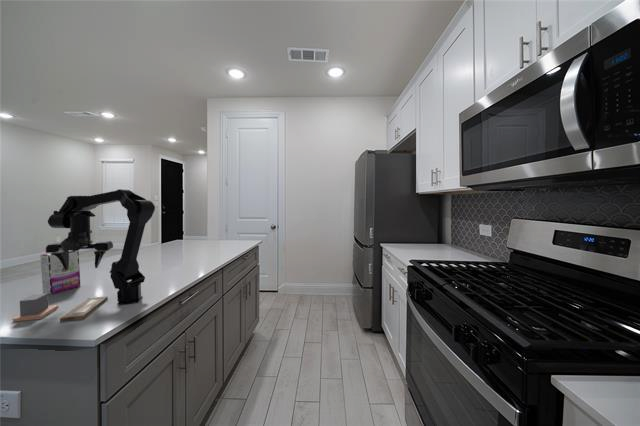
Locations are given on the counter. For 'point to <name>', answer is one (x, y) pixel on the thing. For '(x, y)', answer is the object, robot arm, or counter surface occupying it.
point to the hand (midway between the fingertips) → (81, 268)
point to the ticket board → (84, 309)
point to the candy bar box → (59, 273)
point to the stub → (34, 307)
